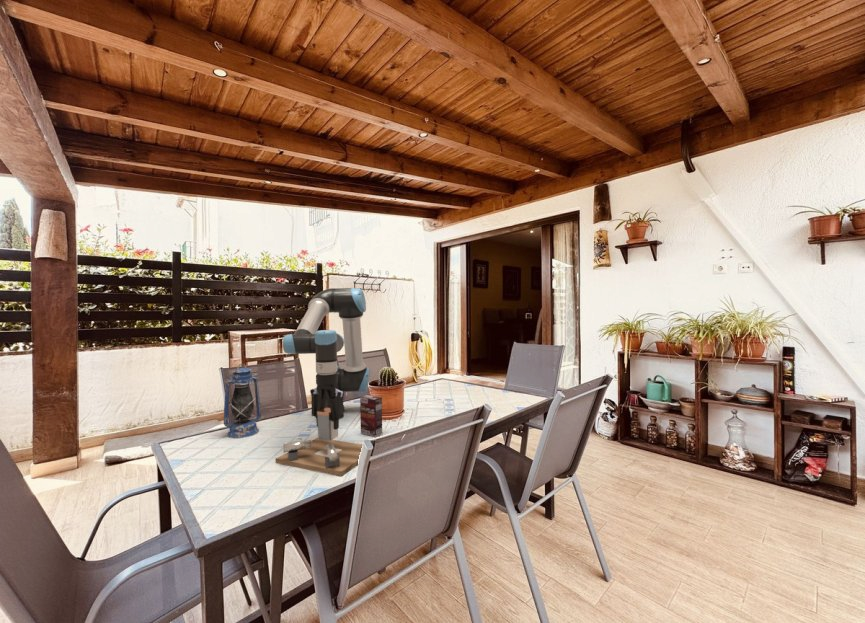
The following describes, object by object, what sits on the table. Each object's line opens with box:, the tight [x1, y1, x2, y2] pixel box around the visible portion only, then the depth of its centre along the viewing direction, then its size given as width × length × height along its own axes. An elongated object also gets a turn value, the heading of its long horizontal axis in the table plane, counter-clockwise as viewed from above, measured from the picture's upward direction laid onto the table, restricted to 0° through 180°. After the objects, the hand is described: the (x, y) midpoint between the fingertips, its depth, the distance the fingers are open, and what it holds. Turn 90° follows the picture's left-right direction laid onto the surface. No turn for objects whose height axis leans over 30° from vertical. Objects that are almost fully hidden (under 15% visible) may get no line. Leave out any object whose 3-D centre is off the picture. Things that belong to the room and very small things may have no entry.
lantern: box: [223, 363, 262, 439], centre depth 162 cm, size 15×12×30 cm
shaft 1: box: [283, 439, 312, 461], centre depth 132 cm, size 9×4×5 cm, turn 112°
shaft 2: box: [325, 443, 340, 469], centre depth 126 cm, size 9×4×5 cm, turn 22°
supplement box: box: [359, 394, 383, 438], centre depth 159 cm, size 9×5×16 cm, turn 58°
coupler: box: [317, 408, 339, 441], centre depth 135 cm, size 5×5×10 cm
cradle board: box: [275, 437, 363, 477], centre depth 136 cm, size 22×28×2 cm
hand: (327, 436), depth 135 cm, fingers closed on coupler, 5 cm apart
